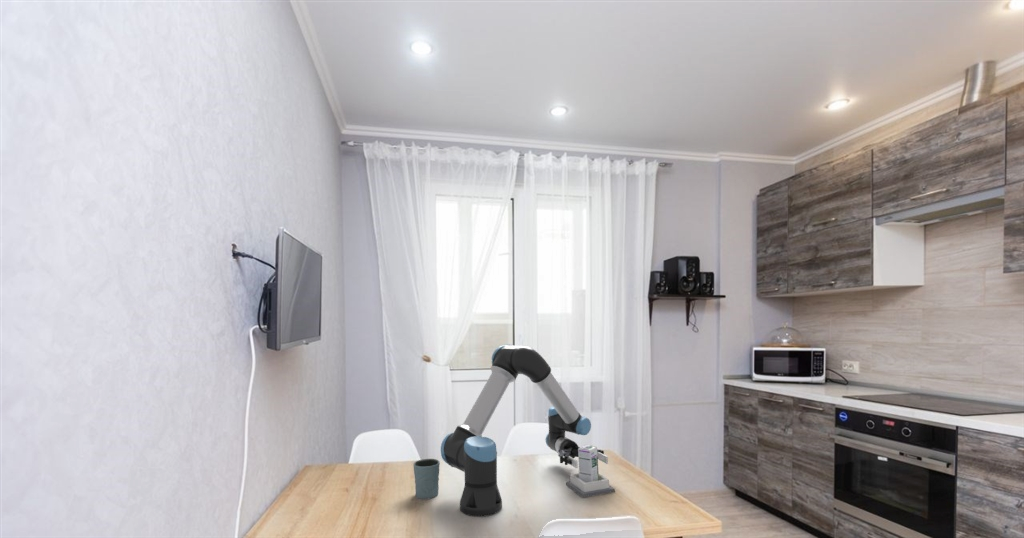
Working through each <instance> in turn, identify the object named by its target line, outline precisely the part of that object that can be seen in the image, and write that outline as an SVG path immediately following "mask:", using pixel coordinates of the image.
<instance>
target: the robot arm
mask: <svg viewBox="0 0 1024 538" xmlns="http://www.w3.org/2000/svg"><path fill="white" fill-rule="evenodd" d="M490 370H491V373H490V375H489V377H488V379H487V380H486V382H485V384H484V386H483V388H482V389H481V392H480V393H479V394H478V397H477V398H476V400H475V402H474V404H473V406H472V407H471V408H470V411H469V413H468V414H467V415H466V418H465V420H464V421H463V423H462V424H459V425H457V426H456V428H455V430H454V431H453V432H451V433H449V434H446V436H445V437H444V438H443V440H442V442H441V445H440V454H441V455H440V456H441V458H442V460H443V462H445V464H447V465H448V466H450V467H451V468H455V469H458V470H459V471H461V472H464V487H463V490H462V494H461V497H460V500H459V510H460V512H461V513H462V514H465V515H467V516H471V517H487V516H492V515H494V514H497V513H499V512H500V511H501V510H502V508H503V500H502V497H501V493H500V489H499V487H498V476H497V475H498V473H497V472H498V468H497V467H498V466H497V465H498V464H497V463H498V451H497V450H498V449H497V443H496V442H495V441H494V439H492V438H489V437H487V436H483V433H484V431H485V429H486V428H487V426H488V424H489V422H490V420H491V418H492V416H493V414H494V413H495V411H496V409H497V407H498V405H499V403H500V401H501V400H502V398H503V396H504V394H505V392H506V390H507V388H508V386H509V385H510V383H514V382H515V381H516V379H517V378H518V376H519V375H523V376H526V377H527V378H529V380H530V381H531V382H532V383H533V384H536V386H538V388H539V389H540V390H541V392H542V393H543V395H544V396H545V397H546V399H547V401H549V403H550V404H551V407H549V408H548V412H547V413H548V416H547V418H548V420H547V421H548V433H547V434H546V436H545V439H544V440H545V444H546V446H547V447H548V448H549V449H550V450H552V451H555V452H556V453H558V454H557V456H558V457H559V464H564V466H568V465H570V466H571V467H573V468H575V469H579V460H578V459H576V458H579V457H578V449H579V448H581V447H580V446H579V445H578V444H577V442H576V441H573V440H572V439H570V438H567V437H566V432H568V433H571V434H576V435H578V436H586V435H588V434H589V433H590V431H591V429H592V424H591V420H590V419H589V418H588V417H586V416H582V415H581V413H580V412H579V411H578V409H577V408H576V406H575V405H574V404H573V402H572V401H571V399H570V398H569V397H568V395H567V394H566V392H565V390H563V388H562V386H561V385H560V383H559V382H558V381H557V379H556V378H555V377H554V375H553V373H552V368H551V366H550V364H549V363H548V362H547V360H546V359H545V358H544V357H543V356H542V355H541V354H540V353H539V352H537V351H536V350H535V349H534V348H532V347H530V346H528V345H527V346H526V345H513V344H506V345H505V344H504V345H500V346H499V347H497V348H496V349H495V350H494V351H493V353H492V356H491V366H490ZM604 451H605V450H603V449H598V448H597V454H598V461H601V462H602V463H604V464H605V465H607V464H609V457H608V455H606V454H605V452H604Z"/></svg>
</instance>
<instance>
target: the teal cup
mask: <svg viewBox="0 0 1024 538" xmlns="http://www.w3.org/2000/svg"><path fill="white" fill-rule="evenodd" d="M440 462H441V461H440V460H439V459H436V458H425V459H420V460H416V461H415V462H413V474H414V485H415V486H414V487H415V497H416V498H417V499H420V500H428V498H430V499H433V497H434V498H436V497H438V495H439V488H440V487H439V480H440V478H439V476H440V466H441V465H440ZM435 496H436V497H435Z"/></svg>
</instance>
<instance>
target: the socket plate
mask: <svg viewBox="0 0 1024 538" xmlns="http://www.w3.org/2000/svg"><path fill="white" fill-rule="evenodd" d="M598 474H599V480H598V481H592V482H586V483H585V482H583V481H582V480H580V479H579V473H573V474H570V480H568V481H565V486H566V487H568V488H569V489H571V490H572V491H573V492H575V493H576V494H578V495H579V496H580V497H581V498H588V497H595V496H600V495H604V494H611V493H615V492H616V490H615V489H616V488H614V487H612V486H611V485H610V479H609V478H607V477H605V476H603V475H601V474H600V473H598Z"/></svg>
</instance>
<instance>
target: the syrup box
mask: <svg viewBox="0 0 1024 538" xmlns="http://www.w3.org/2000/svg"><path fill="white" fill-rule="evenodd" d="M597 449H598V447H597V446H593V445H587V444H585V445H583V446H581V447H580V448H579V449H578V457H577V458H578V472H579V479H580V480H582V481H583V482H585V483H586V482H592V481H598V480H599V474H600V473H599V459H598V454H597Z"/></svg>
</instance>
